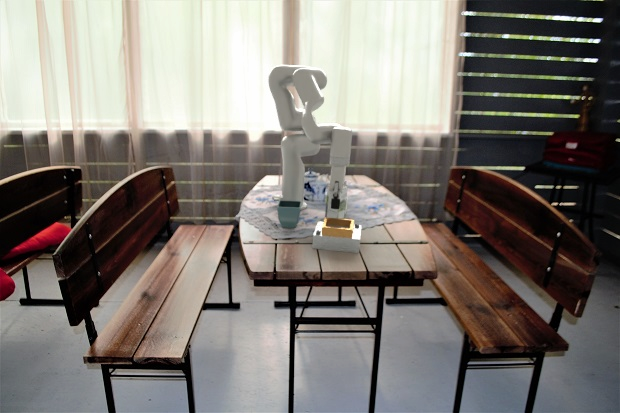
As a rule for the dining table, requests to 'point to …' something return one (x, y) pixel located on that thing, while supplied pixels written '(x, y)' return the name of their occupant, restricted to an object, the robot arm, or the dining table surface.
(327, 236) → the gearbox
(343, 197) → the syrup box
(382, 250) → the dining table surface
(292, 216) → the flower pot
